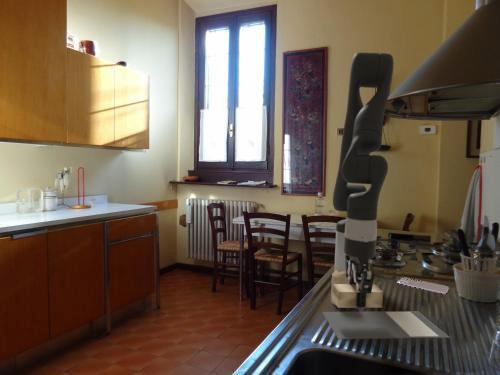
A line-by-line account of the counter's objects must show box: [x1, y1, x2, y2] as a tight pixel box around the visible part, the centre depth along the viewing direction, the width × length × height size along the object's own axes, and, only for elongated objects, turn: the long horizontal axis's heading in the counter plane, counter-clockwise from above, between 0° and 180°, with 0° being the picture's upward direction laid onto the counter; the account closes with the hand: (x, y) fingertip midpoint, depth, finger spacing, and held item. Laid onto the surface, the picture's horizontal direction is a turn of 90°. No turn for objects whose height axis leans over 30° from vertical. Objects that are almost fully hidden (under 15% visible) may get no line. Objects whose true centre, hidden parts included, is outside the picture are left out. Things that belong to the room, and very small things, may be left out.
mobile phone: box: [396, 276, 450, 295], centre depth 118 cm, size 8×1×15 cm
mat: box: [321, 310, 451, 340], centre depth 89 cm, size 14×27×1 cm, turn 94°
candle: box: [330, 269, 349, 306], centre depth 101 cm, size 6×6×10 cm
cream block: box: [332, 283, 384, 309], centre depth 88 cm, size 11×5×4 cm, turn 93°
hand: (356, 301), depth 88 cm, fingers closed on cream block, 5 cm apart
